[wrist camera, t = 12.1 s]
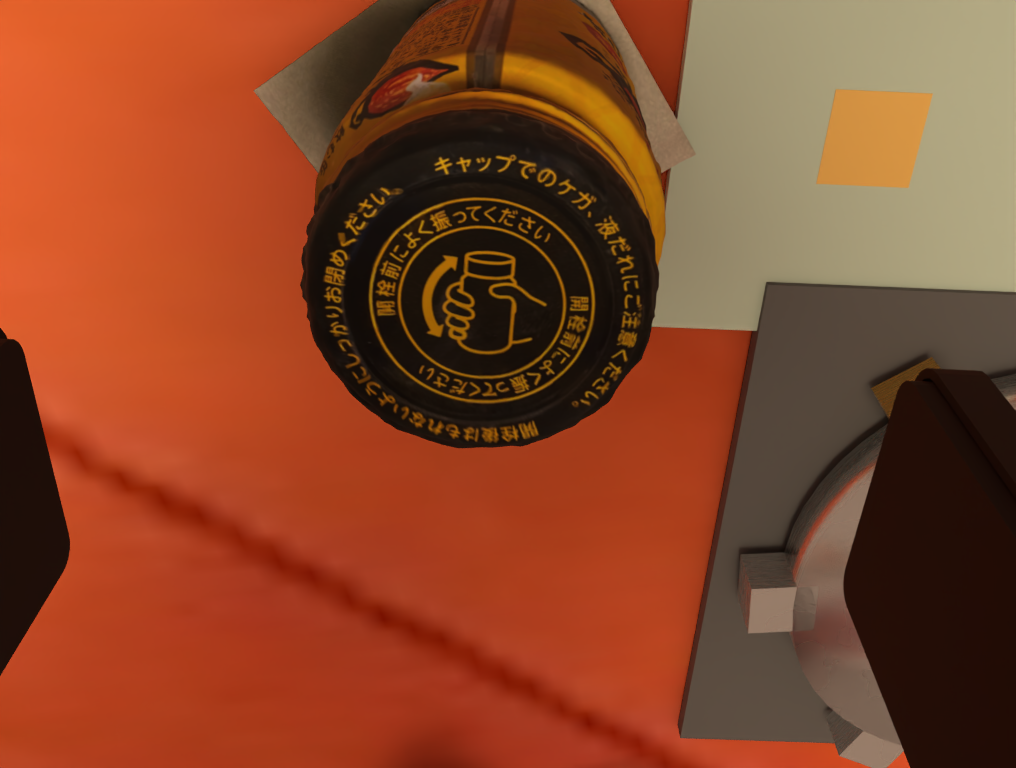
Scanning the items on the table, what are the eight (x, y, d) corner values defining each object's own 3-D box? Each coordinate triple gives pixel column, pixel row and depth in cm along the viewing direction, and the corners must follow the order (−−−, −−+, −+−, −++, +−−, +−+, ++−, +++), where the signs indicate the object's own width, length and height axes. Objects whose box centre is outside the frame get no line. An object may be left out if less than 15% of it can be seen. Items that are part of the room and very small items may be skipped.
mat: (997, 334, 28) (1004, 341, 27) (648, 320, 27) (650, 327, 27) (1140, -95, 22) (1150, -93, 22) (704, -116, 22) (707, -115, 22)
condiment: (695, 151, 25) (798, 380, 14) (424, 311, 27) (342, 607, 17) (543, -120, 22) (531, -85, 11) (256, 87, 24) (30, 273, 14)
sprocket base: (1158, 740, 36) (1168, 753, 36) (678, 724, 36) (679, 737, 35) (1403, 302, 27) (1420, 311, 27) (763, 275, 27) (767, 285, 26)
